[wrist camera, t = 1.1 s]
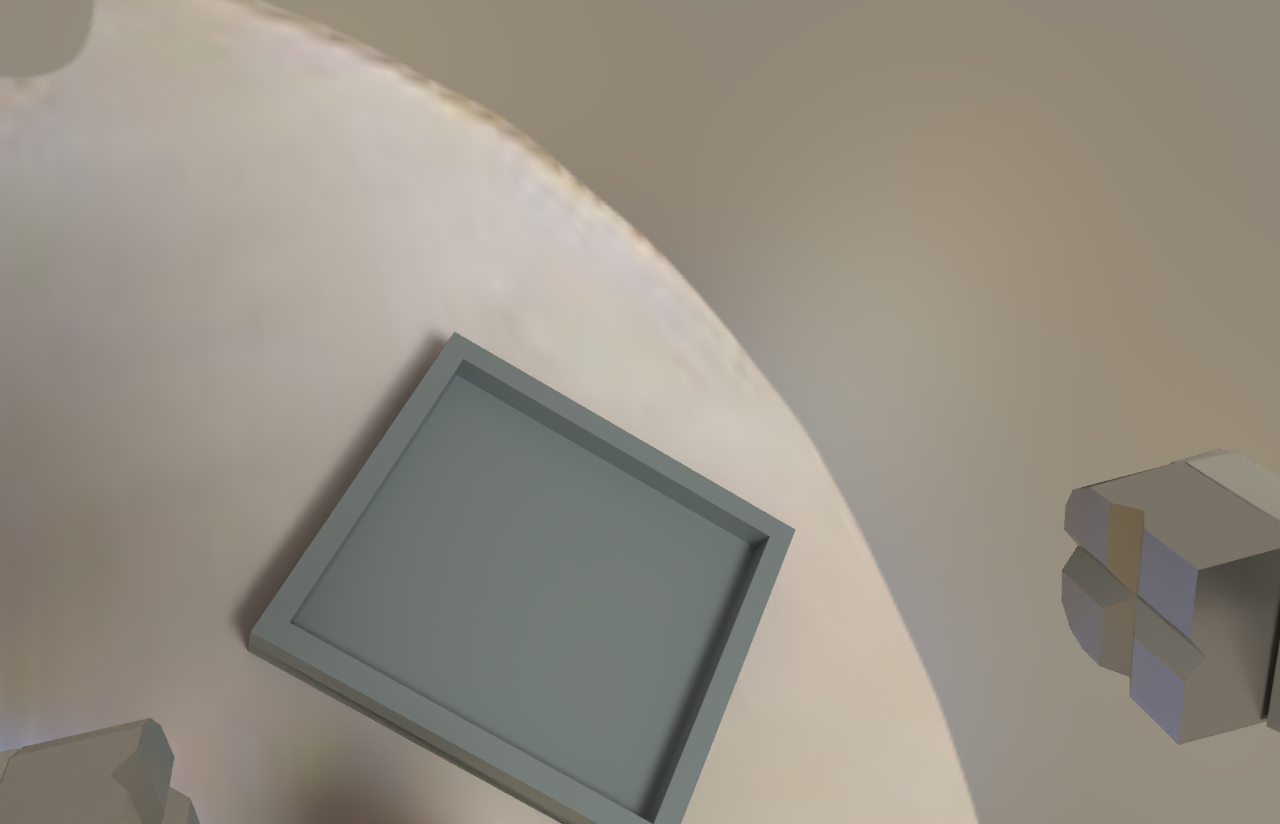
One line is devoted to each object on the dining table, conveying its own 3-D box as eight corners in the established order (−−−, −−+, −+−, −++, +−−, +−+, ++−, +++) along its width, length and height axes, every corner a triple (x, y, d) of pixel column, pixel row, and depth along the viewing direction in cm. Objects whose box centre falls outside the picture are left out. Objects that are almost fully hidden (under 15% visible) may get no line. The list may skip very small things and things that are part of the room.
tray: (247, 650, 45) (250, 631, 43) (443, 359, 54) (454, 331, 52) (644, 868, 46) (666, 861, 44) (772, 548, 55) (795, 529, 53)
